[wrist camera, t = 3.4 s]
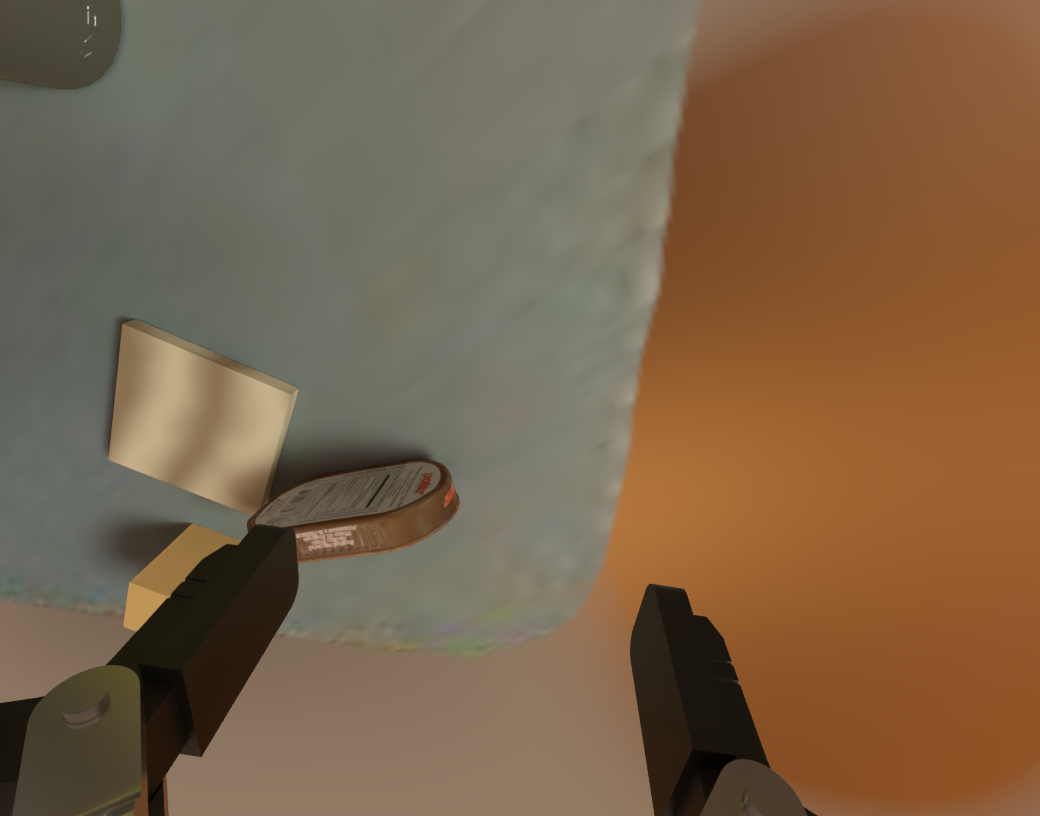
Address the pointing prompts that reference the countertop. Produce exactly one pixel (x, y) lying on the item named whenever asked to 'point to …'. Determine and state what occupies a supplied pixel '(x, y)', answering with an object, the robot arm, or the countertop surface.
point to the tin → (363, 509)
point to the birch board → (198, 418)
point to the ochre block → (169, 572)
